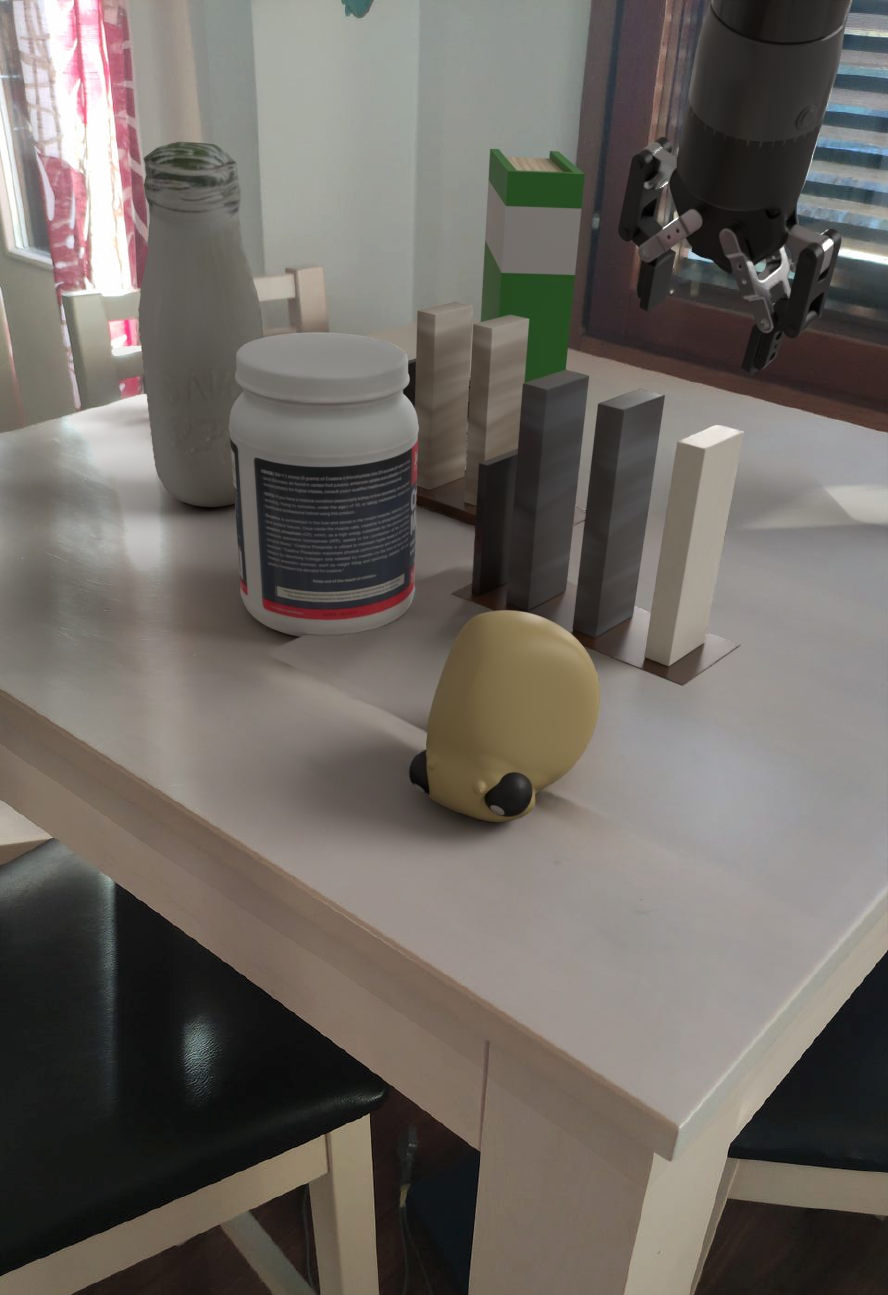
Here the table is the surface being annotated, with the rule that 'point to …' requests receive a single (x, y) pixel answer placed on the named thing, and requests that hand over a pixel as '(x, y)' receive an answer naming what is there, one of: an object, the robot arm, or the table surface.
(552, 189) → the hardback book
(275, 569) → the supplement tub
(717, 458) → the beige rectangular block
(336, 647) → the table surface
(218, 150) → the glass bottle
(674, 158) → the robot arm
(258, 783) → the table surface
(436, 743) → the yellow toy with eyes
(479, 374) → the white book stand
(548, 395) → the grey book stand
